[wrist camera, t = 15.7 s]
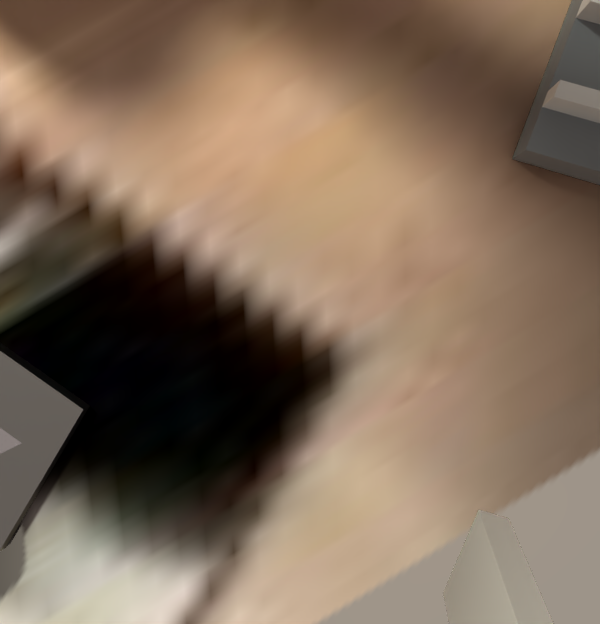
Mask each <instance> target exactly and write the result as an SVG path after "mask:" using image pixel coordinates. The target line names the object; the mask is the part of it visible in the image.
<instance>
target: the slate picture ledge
mask: <svg viewBox="0 0 600 624" xmlns="http://www.w3.org/2000/svg"><path fill="white" fill-rule="evenodd" d="M512 159H514V160H517V161H521V162H524V163H527V164H531V165H534V166H537V167H541V168H544V169H548V170H551V171H554V172H558V173H561V174H564V175H568V176H571V177H574V178H578V179H581V180H585V181H588V182H591V183H595V184H598V185H600V0H572V1H571V4H570V6H569V9H568V12H567V14H566V17H565V20H564V22H563V25H562V28H561V30H560V33H559V36H558V38H557V41H556V44H555V46H554V49H553V52H552V54H551V57H550V60H549V62H548V65H547V68H546V70H545V73H544V75H543V78H542V81H541V83H540V86H539V89H538V91H537V94H536V97H535V99H534V102H533V105H532V107H531V110H530V113H529V115H528V118H527V121H526V123H525V126H524V129H523V131H522V134H521V137H520V139H519V142H518V145H517V147H516V150H515V152H514V155H513V158H512Z"/></svg>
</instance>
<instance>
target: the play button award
mask: <svg viewBox="0 0 600 624" xmlns="http://www.w3.org/2000/svg"><path fill="white" fill-rule="evenodd" d="M89 407H90V405H88V404H87V403H85V402H84V401H82V400H81V399H80V398H78V397H77V396H75V395H74V394H73V393H71V392H70V391H68V390H67V389H65V388H64V387H63V386H61V385H60V384H58V383H57V382H55V381H54V380H53V379H51V378H50V377H48V376H47V375H46V374H44V373H43V372H41V371H40V370H38V369H37V368H36V367H34V366H33V365H31V364H30V363H29V362H27V361H26V360H24V359H23V358H21V357H20V356H19V355H17V354H16V353H14V352H13V351H11V350H10V349H9V348H7V347H6V346H4V345H3V344H2V343H0V551H2V550H3V549H4V548H6V547H7V546H8V545H9V544H11V542H12V540H13V538H14V537H15V535H16V533H17V532H18V530H19V528H20V527H21V521H22V519H23V518H24V516H25V514H26V513H27V511H28V509H29V508H30V506H31V504H32V502H33V501H34V499H35V497H36V496H37V494H38V492H39V491H40V489H41V487H42V486H43V484H44V482H45V481H46V479H47V477H48V476H49V474H50V472H51V471H52V469H53V467H54V466H55V464H56V462H57V460H58V459H59V457H60V455H61V454H62V452H63V450H64V449H65V447H66V445H67V444H68V442H69V440H70V439H71V437H72V435H73V434H74V432H75V430H76V429H77V427H78V425H79V424H80V422H81V420H82V418H83V417H84V415H85V413H86V412H87V410H88V408H89Z"/></svg>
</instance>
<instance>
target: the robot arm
mask: <svg viewBox="0 0 600 624" xmlns="http://www.w3.org/2000/svg"><path fill="white" fill-rule="evenodd" d="M443 596H444V601H445V606H446V611H447V616H448V622H449V624H554V623H553V621H552V619H551V616H550V614H549V612H548V609H547V607H546V605H545V602H544V600H543V598H542V595H541V593H540V591H539V588H538V586H537V584H536V581H535V579H534V576H533V574H532V572H531V569H530V567H529V565H528V562H527V560H526V558H525V555H524V553H523V551H522V549H521V546H520V543H519V541H518V539H517V536H516V534H515V532H514V529H513V527H512V525H511V522H510V520H509V518H506V517H503V516H499V515H496V514H493V513H489V512H486V511H483V510H478V512H477V515H476V517H475V519H474V522H473V524H472V526H471V529H470V531H469V533H468V536H467V538H466V540H465V543H464V545H463V548H462V550H461V552H460V555H459V557H458V559H457V562H456V564H455V566H454V568H453V571H452V573H451V575H450V578H449V580H448V582H447V585H446V587H445V590H444V592H443Z"/></svg>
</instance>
